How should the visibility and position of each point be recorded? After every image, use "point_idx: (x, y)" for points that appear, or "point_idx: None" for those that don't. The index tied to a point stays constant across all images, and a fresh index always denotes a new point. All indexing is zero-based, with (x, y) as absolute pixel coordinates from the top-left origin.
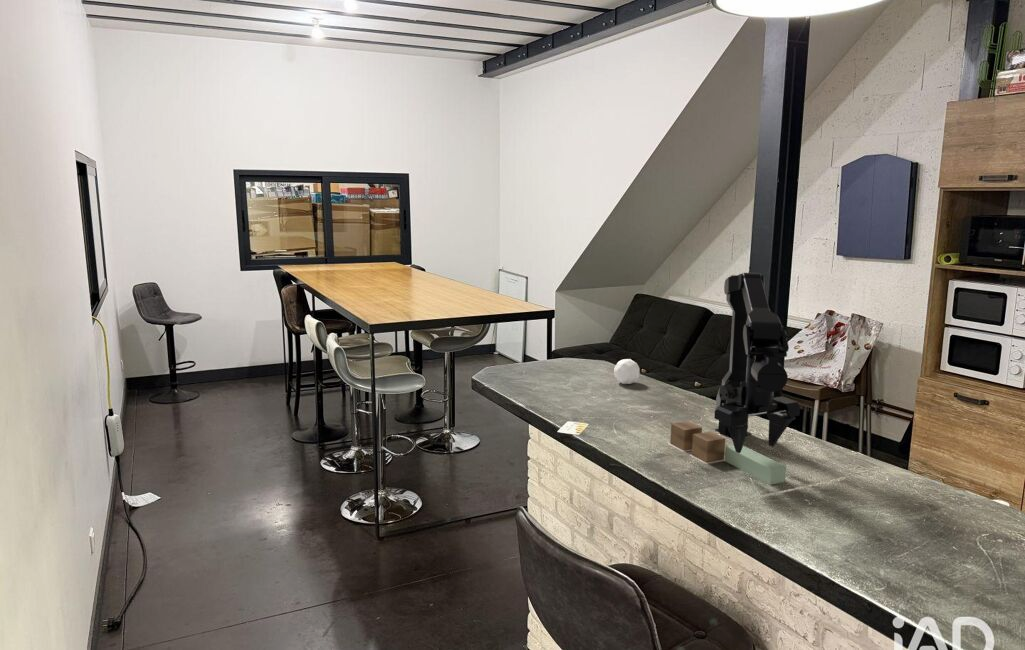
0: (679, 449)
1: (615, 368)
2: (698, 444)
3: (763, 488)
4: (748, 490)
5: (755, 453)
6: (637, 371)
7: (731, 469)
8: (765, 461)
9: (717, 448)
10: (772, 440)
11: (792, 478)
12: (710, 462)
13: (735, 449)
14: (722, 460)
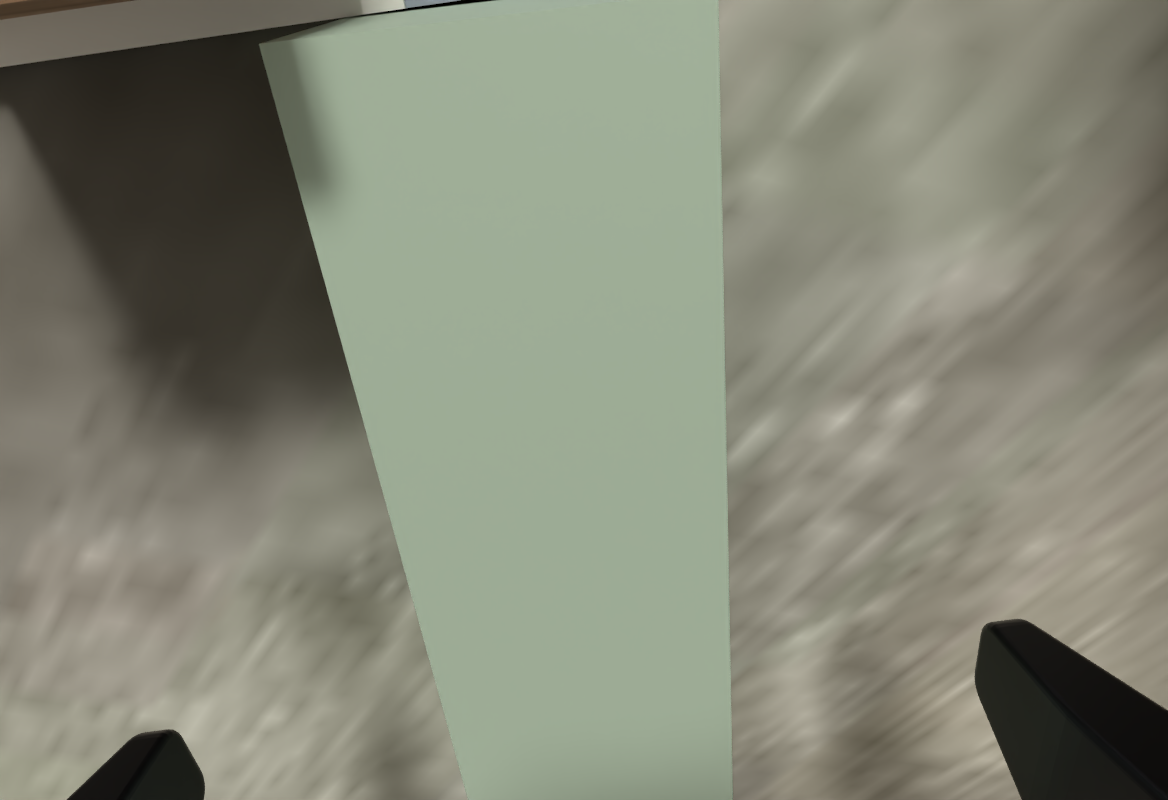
0: None
1: None
2: None
3: (425, 758)
4: (257, 765)
5: (669, 527)
6: None
7: (327, 306)
8: (598, 773)
9: (51, 5)
10: (1043, 794)
11: (863, 653)
12: (33, 34)
13: (108, 773)
14: (301, 6)
